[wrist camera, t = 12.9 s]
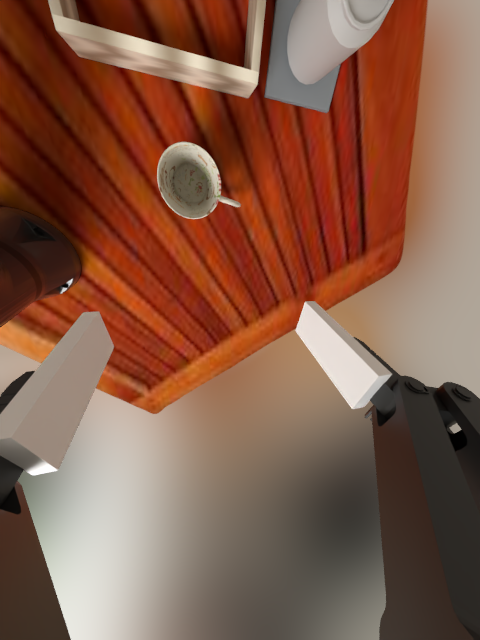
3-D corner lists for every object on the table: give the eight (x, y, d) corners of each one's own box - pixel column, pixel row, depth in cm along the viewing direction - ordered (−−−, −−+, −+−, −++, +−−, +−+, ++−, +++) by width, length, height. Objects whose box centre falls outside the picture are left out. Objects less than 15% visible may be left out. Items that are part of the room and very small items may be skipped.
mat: (264, 97, 28) (265, 95, 28) (280, -41, 22) (282, -46, 22) (326, 112, 31) (328, 111, 30) (356, -7, 25) (359, -11, 24)
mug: (167, 143, 29) (159, 127, 21) (241, 174, 33) (257, 171, 26) (163, 202, 33) (154, 208, 25) (229, 223, 38) (239, 234, 30)
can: (314, -27, 23) (401, -175, 13) (344, 42, 27) (428, -35, 17) (273, 49, 26) (322, -30, 16) (305, 102, 29) (360, 63, 20)
